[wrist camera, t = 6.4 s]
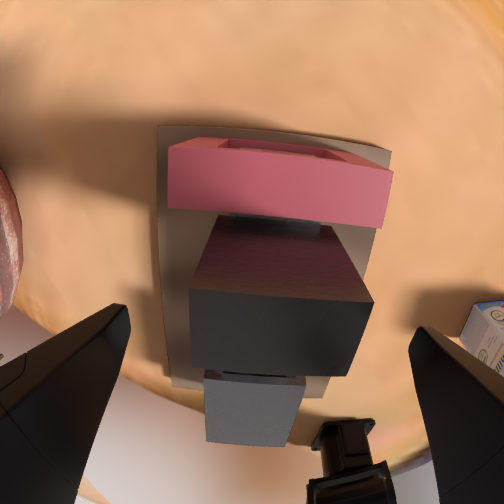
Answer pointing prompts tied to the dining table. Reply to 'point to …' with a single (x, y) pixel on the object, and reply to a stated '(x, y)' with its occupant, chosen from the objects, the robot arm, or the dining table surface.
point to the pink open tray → (277, 181)
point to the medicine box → (486, 334)
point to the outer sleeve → (250, 408)
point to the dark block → (276, 299)
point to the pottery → (9, 244)
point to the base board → (198, 231)
